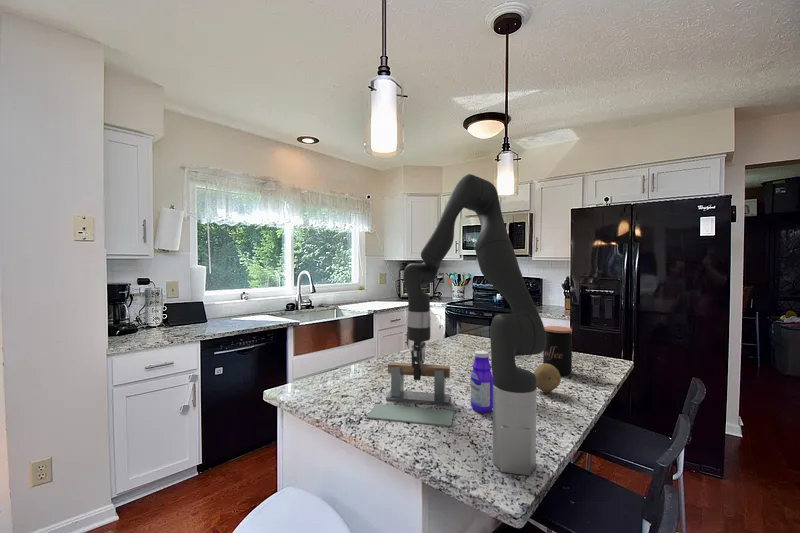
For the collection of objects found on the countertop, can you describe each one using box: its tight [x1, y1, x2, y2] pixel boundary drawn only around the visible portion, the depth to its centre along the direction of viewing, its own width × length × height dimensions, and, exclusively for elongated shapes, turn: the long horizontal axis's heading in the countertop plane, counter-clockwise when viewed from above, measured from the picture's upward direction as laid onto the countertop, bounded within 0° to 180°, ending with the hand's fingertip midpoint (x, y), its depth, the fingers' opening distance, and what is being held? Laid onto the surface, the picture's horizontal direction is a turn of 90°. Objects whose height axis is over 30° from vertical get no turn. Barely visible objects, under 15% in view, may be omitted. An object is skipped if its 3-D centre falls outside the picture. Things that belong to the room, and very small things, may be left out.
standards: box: [385, 367, 451, 406], centre depth 120 cm, size 7×20×10 cm, turn 78°
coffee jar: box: [542, 325, 573, 377], centre depth 150 cm, size 11×11×18 cm
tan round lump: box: [532, 363, 561, 394], centre depth 126 cm, size 9×9×10 cm
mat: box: [366, 403, 455, 427], centre depth 108 cm, size 10×24×1 cm, turn 78°
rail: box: [387, 361, 451, 379], centre depth 120 cm, size 3×20×3 cm, turn 78°
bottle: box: [470, 350, 493, 414], centre depth 112 cm, size 7×6×17 cm
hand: (418, 377), depth 120 cm, fingers open, 4 cm apart
